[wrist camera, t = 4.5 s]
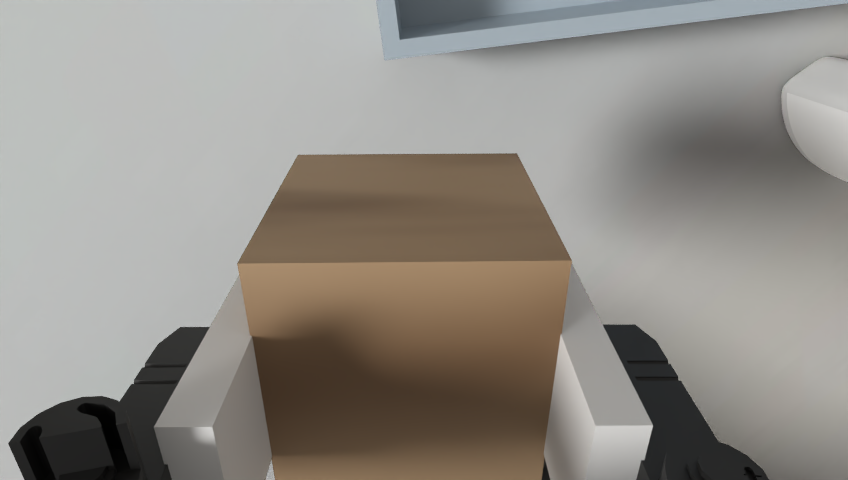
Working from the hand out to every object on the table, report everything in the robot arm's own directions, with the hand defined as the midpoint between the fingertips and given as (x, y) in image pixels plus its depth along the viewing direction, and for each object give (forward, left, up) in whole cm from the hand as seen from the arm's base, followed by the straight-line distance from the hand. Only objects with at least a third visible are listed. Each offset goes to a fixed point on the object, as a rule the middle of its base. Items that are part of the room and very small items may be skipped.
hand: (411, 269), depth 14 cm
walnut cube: (0, 0, -1) cm, 1 cm away
